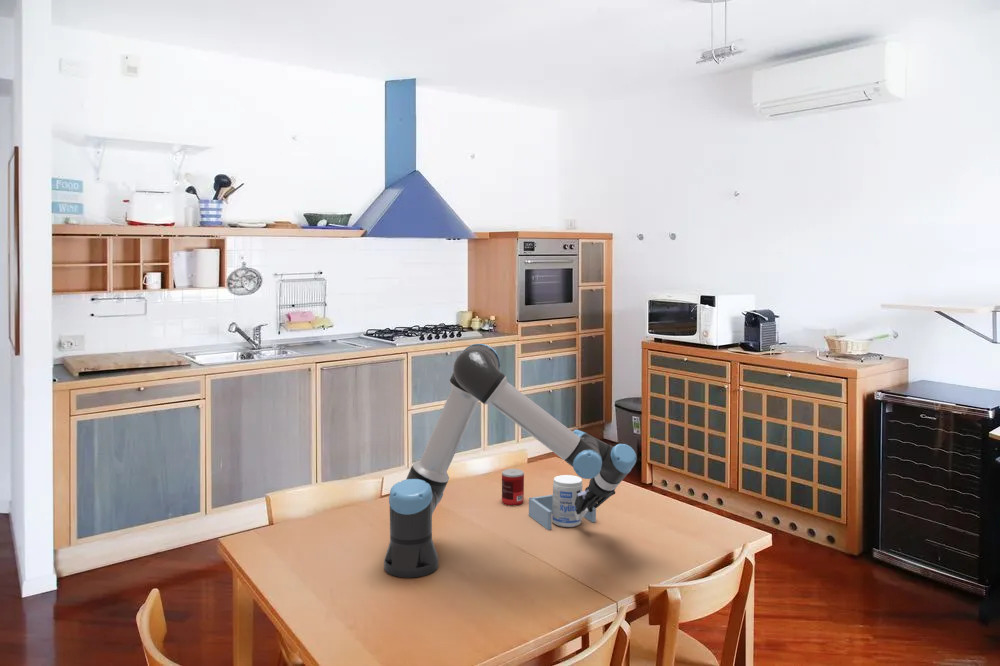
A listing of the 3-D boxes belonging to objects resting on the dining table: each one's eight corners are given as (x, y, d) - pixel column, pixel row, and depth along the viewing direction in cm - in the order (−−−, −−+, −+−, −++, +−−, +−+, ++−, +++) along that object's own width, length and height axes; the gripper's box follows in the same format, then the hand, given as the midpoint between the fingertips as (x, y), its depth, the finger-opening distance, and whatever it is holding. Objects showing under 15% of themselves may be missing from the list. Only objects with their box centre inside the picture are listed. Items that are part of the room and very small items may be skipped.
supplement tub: (560, 530, 237) (561, 485, 235) (547, 519, 245) (547, 476, 244) (587, 525, 241) (588, 481, 239) (572, 515, 249) (573, 473, 247)
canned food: (524, 499, 266) (524, 469, 264) (522, 506, 258) (523, 475, 257) (503, 498, 266) (503, 468, 265) (500, 505, 259) (500, 475, 257)
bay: (595, 522, 243) (596, 504, 243) (548, 530, 237) (548, 511, 236) (574, 508, 256) (574, 491, 256) (528, 515, 249) (528, 498, 249)
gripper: (590, 494, 216) (563, 530, 233) (629, 489, 221) (599, 524, 238) (581, 471, 220) (555, 508, 237) (619, 466, 225) (591, 503, 242)
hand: (577, 516), depth 238 cm, fingers closed
